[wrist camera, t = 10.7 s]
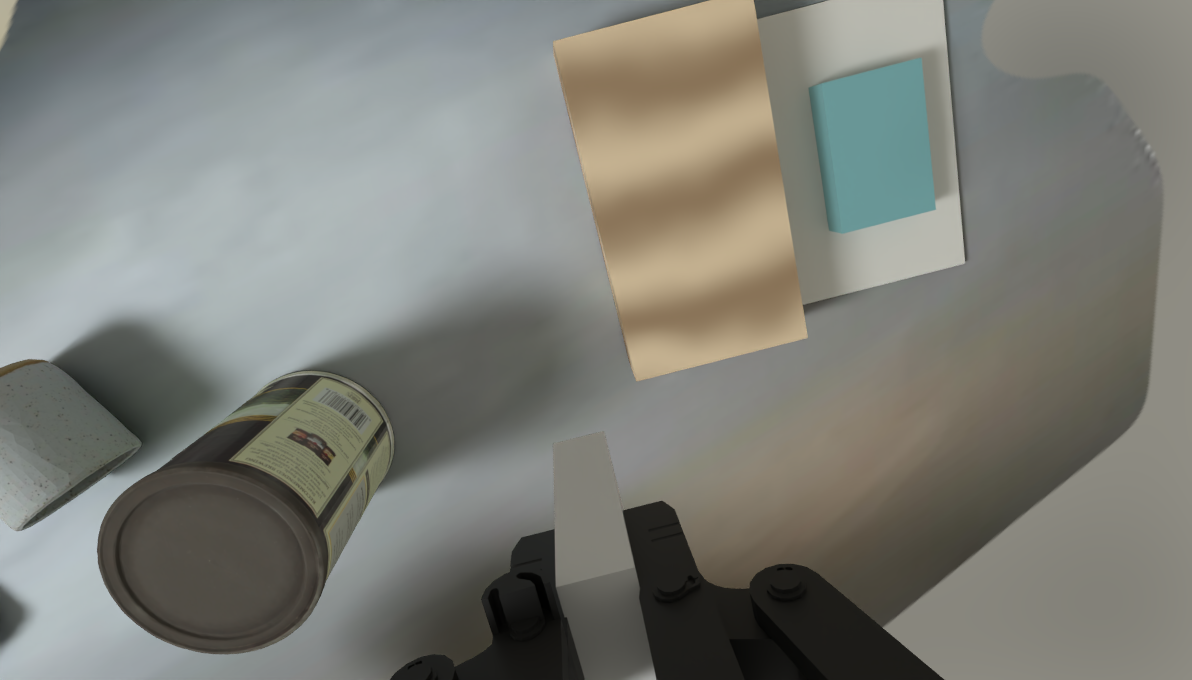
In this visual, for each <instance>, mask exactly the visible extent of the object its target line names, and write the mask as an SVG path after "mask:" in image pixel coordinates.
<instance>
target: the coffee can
mask: <svg viewBox="0 0 1192 680" xmlns="http://www.w3.org/2000/svg"><path fill="white" fill-rule="evenodd" d="M393 455H394V435H393V430H392V426H391V423H390V420H389V418H388V416H387V414H386V412H385V411H384V409H383V408H382V406H381V404H380V403H379V402H378V401H377V400H376V399H375V398H374V397H373V396H372V395H371V394H370V393H369V392H368V391H367V390H365V389H364V388H363V387H361V386H360V385H358V384H357V383H355V382H353V381H351V380H349V379H347V378H344V377H342V376H339V375H336V374H332V373H329V372H319V371H302V372H296V373H291V374H288V375H285V376H282V377H280V378H278V379H275V380H273V381H271V382H270V383H268V384H267V385H266V386H264V387H263V388H262V389H261V390H260V391H259V392H258V393H257V394H256V395H255V396H253V397H252V398H251V399H250V400H248V401H247V402H246V403H244V404H243V405H242V406H241V407H239V408H238V409H237V410H236V411H234V412H233V413H232V414H230V415H229V416H228V417H227V418H225V419H224V420H223V421H221V422H220V423H219V424H218V425H216V426H215V427H214V428H212V429H211V430H210V431H208V432H207V433H206V434H204V435H203V436H202V437H200V438H199V439H198V440H196V441H195V442H194V443H192V444H191V445H190V446H188V447H187V448H185V449H184V450H183V451H182V452H180V453H179V454H177V455H176V456H175V457H173V458H172V459H171V460H170V461H169V462H168V463H166V464H165V465H164V466H162V467H161V468H160V469H158V470H157V471H155V472H153V473H151V474H149V475H147V476H145V477H144V478H142V479H141V480H139V481H138V482H136V483H135V484H133V485H132V486H131V487H129V488H128V489H127V490H125V491H124V492H123V493H122V494H121V495H120V496H119V497H118V498H117V499H116V500H115V502H114V503H113V504H112V505H111V507H110V508H109V510H108V511H107V513H106V515H105V517H104V519H103V522H102V524H101V527H100V532H99V537H98V547H97V553H98V564H99V569H100V572H101V575H102V578H103V581H104V584H105V586H106V588H107V589H108V591H109V593H110V595H111V596H112V598H113V599H114V601H115V602H116V603H117V605H118V606H119V607H120V608H121V610H122V611H123V612H124V613H125V614H126V615H127V616H128V617H129V618H130V619H131V620H133V621H134V622H135V623H136V624H137V625H139V626H140V627H141V628H143V629H144V630H145V631H147V632H148V633H150V634H152V635H153V636H155V637H157V638H159V639H161V640H163V641H165V642H167V643H170V644H172V645H175V646H177V647H180V648H184V649H188V650H192V651H196V652H201V653H209V654H239V653H245V652H251V651H255V650H258V649H262V648H265V647H268V646H270V645H272V644H274V643H277V642H279V641H280V640H282V639H284V638H286V637H287V636H289V635H290V634H291V633H293V632H294V631H295V630H296V629H297V628H299V627H300V626H301V625H302V624H303V623H304V622H305V621H306V619H307V618H308V617H309V616H310V614H311V613H312V611H313V609H314V608H315V606H316V604H317V602H318V600H319V598H320V596H321V594H322V591H323V589H324V586H325V582H326V580H327V578H328V576H329V575H330V573H331V571H332V569H333V567H334V566H335V564H336V562H337V560H338V558H339V557H340V555H341V553H342V551H343V549H344V547H345V546H346V544H347V542H348V540H349V538H350V536H351V535H352V533H353V531H354V529H355V527H356V526H357V524H358V522H359V521H360V519H361V517H362V515H363V513H364V511H365V509H366V508H367V506H368V504H369V502H370V500H371V499H372V497H373V495H374V493H375V491H376V490H377V488H378V486H379V484H380V483H381V482H382V480H383V479H384V478H385V476H386V474H387V472H388V470H389V468H390V465H391V462H392V459H393Z"/></svg>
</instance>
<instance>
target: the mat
mask: <svg viewBox="0 0 1192 680" xmlns="http://www.w3.org/2000/svg"><path fill="white" fill-rule="evenodd" d="M757 23H758V30H759V36H760V42H761V48H762V55H763V61H764V67H765V73H766V80H767V86H768V92H769V98H770V105H771V111H772V117H773V123H774V130H775V136H776V142H777V148H778V155H779V161H780V167H781V173H782V180H783V186H784V192H785V198H786V205H787V211H788V217H789V223H790V230H791V236H792V242H793V248H794V254H795V261H796V267H797V273H798V279H799V286H800V292H801V298H802V304H803V305H805V304H808V303H812V302H816V301H820V300H824V299H828V298H832V297H836V296H840V295H844V294H848V293H851V292H855V291H859V290H863V289H867V288H871V287H875V286H879V285H883V284H887V283H891V282H895V281H898V280H902V279H906V278H910V277H914V276H918V275H922V274H926V273H930V272H934V271H938V270H941V269H945V268H949V267H953V266H957V265H961V264H965V256H964V245H963V233H962V221H961V209H960V197H959V185H958V173H957V161H956V149H955V137H954V125H953V114H952V102H951V90H950V78H949V66H948V54H947V42H946V30H945V18H944V6H943V0H829V1H825V2H821V3H817V4H813V5H810V6H806V7H802V8H798V9H794V10H790V11H787V12H783V13H779V14H775V15H771V16H767V17H764V18H760V19H757ZM917 58H922V69H923V79H924V90H925V100H926V111H927V121H928V131H929V142H930V152H931V163H932V173H933V184H934V194H935V204H936V210H933V211H929V212H925V213H921V214H917V215H913V216H910V217H906V218H902V219H898V220H894V221H890V222H886V223H882V224H879V225H875V226H871V227H867V228H863V229H859V230H855V231H851V232H848V233H844V234H841V233H837V232H832V231H829V227H828V221H827V214H826V207H825V200H824V193H823V186H822V179H821V172H820V165H819V158H818V151H817V144H816V137H815V130H814V123H813V117H812V110H811V103H810V96H809V89H808V88H809V87H812V86H815V85H818V84H821V83H825V82H829V81H833V80H837V79H840V78H844V77H848V76H852V75H856V74H860V73H863V72H867V71H871V70H875V69H879V68H883V67H886V66H890V65H894V64H898V63H902V62H906V61H909V60H913V59H917Z"/></svg>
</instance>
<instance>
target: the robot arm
mask: <svg viewBox="0 0 1192 680" xmlns="http://www.w3.org/2000/svg"><path fill="white" fill-rule="evenodd" d="M553 464H554V520H555V529H554V530H550V531H546V532H542V533H538V534H534V535H530V536H526V537H522V538H521V539H520V541H519V542H518V544H517V545H516V547H515V548H514V550H513V551H512V556H511V569H510V572H509V573H507V574H504V575H503V576H501V577H500V578H498V579H496V580H495V581H493V582H492V583H491V585H490V586H489V587H488V588H487V589H486V590H485V592H484V594H483V596H482V599H481V600H482V603H483V606H484V609H485V612H486V615H487V619H488V622H489V625H490V628H491V631H492V634H493V642H492V645H491V646H490V647H488V648H487V649H486V650H485V651H484V652H482V653H480V654H479V655H477V656H475V657H474V658H472V659H470V660H468V661H466V662H464V663H462V664H460V665H458V666H456V667H454V664H453V661H452V660H451V659H449V658H448V657H446V656H445V655H435V654H433V655H428V656H424V657H420V658H418V659H416V660H414V661H412V662H410V663H408V664H406V665H405V666H404V667H402V668H401V669H400V670H399V671H397V672H396V673H395V674H394V675H393V676H392V678H391V679H390V680H944V679H943V678H942V677H940V676H939V675H938V674H937V673H936V672H935V671H933V670H932V669H931V668H930V667H928V666H927V665H926V664H925V663H924V662H922V661H921V660H920V659H919V658H918V657H917V656H915V655H914V654H913V653H912V652H911V651H909V650H908V649H907V648H906V647H905V646H903V645H902V644H901V643H900V642H899V641H898V640H896V639H895V638H894V637H893V636H892V635H890V634H889V633H888V632H887V631H886V630H884V629H883V628H882V627H881V626H880V625H878V624H877V623H876V622H875V621H874V620H872V619H871V618H870V617H869V616H868V615H867V614H865V613H864V612H863V611H862V610H861V609H859V608H858V607H857V606H856V605H855V604H853V603H852V602H851V601H850V600H849V599H847V598H846V597H845V596H844V595H843V594H841V593H840V592H839V591H838V590H837V589H835V588H834V587H833V586H832V585H831V584H830V583H828V582H827V581H826V580H825V579H824V578H822V577H821V576H820V575H819V574H818V573H816V572H814V571H813V570H811V569H809V568H807V567H804V566H800V565H795V564H778V565H775V566H771V567H768V568H765V569H764V570H762V571H760V572H759V573H757V574H756V575H755V576H754V578H753V579H752V581H751V582H750V589H730V588H723V587H719V586H715V585H713V584H711V583H709V582H707V581H706V580H705V579H704V578H703V576H702V575H701V574H700V573H699V571H698V569H697V566H696V564H695V561H694V558H693V556H692V553H691V551H690V548H689V546H688V543H687V540H686V538H685V535H684V533H683V530H682V527H681V525H680V523H679V520H678V517H677V515H676V512H675V509H673V508H672V507H670V506H669V505H668V504H666V503H665V502H663V501H659V502H655V503H651V504H647V505H643V506H639V507H635V508H631V509H627V510H624V509H623V505H622V501H621V497H620V493H619V489H618V485H617V481H616V477H615V473H614V469H613V465H612V461H611V457H610V453H609V449H608V445H607V441H606V437H605V433H604V431H602V432H598V433H594V434H590V435H586V436H582V437H578V438H574V439H570V440H566V441H562V442H558V443H554V444H553Z"/></svg>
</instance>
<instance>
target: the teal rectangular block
mask: <svg viewBox="0 0 1192 680" xmlns="http://www.w3.org/2000/svg"><path fill="white" fill-rule="evenodd" d="M808 89H809V96H810V103H811V110H812V117H813V123H814V130H815V137H816V144H817V151H818V158H819V165H820V172H821V179H822V186H823V193H824V200H825V207H826V214H827V221H828V227H829V231H832V232H837V233H841V234H844V233H848V232H851V231H855V230H859V229H863V228H867V227H871V226H875V225H879V224H882V223H886V222H890V221H894V220H898V219H902V218H906V217H910V216H913V215H917V214H921V213H925V212H929V211H933V210H936V204H935V194H934V184H933V173H932V163H931V152H930V142H929V131H928V121H927V111H926V100H925V90H924V79H923V69H922V58H917V59H913V60H909V61H906V62H902V63H898V64H894V65H890V66H886V67H883V68H879V69H875V70H871V71H867V72H863V73H860V74H856V75H852V76H848V77H844V78H840V79H837V80H833V81H829V82H825V83H821V84H818V85H815V86H812V87H809V88H808Z"/></svg>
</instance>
